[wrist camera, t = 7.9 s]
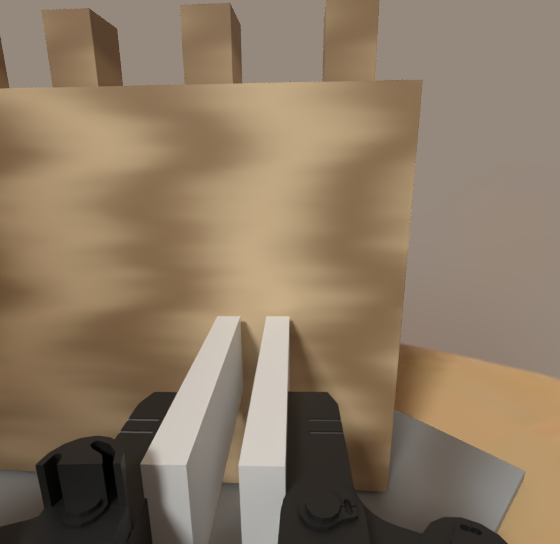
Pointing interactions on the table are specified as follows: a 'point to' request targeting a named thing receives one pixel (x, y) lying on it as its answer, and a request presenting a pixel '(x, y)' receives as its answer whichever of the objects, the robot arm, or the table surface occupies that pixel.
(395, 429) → the fence base
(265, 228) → the fence panel
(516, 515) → the table surface
